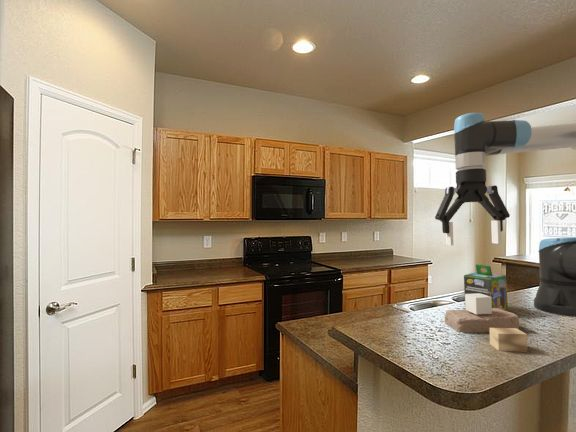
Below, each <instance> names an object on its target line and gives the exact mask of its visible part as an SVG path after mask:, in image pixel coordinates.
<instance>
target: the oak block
mask: <svg viewBox="0 0 576 432" xmlns="http://www.w3.org/2000/svg"><path fill="white" fill-rule="evenodd" d="M489 345H490V346H492V347H493V348H495V349H496V350H497V351H500V352H526V353H527V352H528V334H527V333H525V332H523V331H522V330H520V329H517V328H490V332H489Z"/></svg>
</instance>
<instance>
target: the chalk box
mask: <svg viewBox="0 0 576 432" xmlns="http://www.w3.org/2000/svg"><path fill="white" fill-rule="evenodd" d="M475 269H476V270H475V271H476V272H470V273H467V274H464V275H463V289H464V295H465V294H475V293H480V294H484V295H487V296H490V297H491V298H492V308H499V309H501V310H504V311H509V304H508V303H509V302H508V287H507V286H508V285H507V275H506V274H500V273H493V272H492V268H491V266H490V265H487V264H479V263H478V264H475ZM482 269H485V270H486V271H482Z"/></svg>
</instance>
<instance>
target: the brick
mask: <svg viewBox="0 0 576 432" xmlns="http://www.w3.org/2000/svg"><path fill="white" fill-rule="evenodd" d="M444 323H445V325H447V326H448V327H449V328H451V329H452V330H454V331H455V332H456V333H460V332H465V333H464V334H466V333H467V332H471V333H490V328H517V329H518V330H520V329H519V328H520V319H519V316H518V314H515V313H514V312H510V311H509V310H507V311H504V310H501V309H499V308H492V314H474V313H472V312H469V311H467V310H465V309H450V310H449V309H448V310H445V314H444Z"/></svg>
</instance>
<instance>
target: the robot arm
mask: <svg viewBox="0 0 576 432" xmlns="http://www.w3.org/2000/svg"><path fill="white" fill-rule="evenodd" d="M484 115H485V114H483V113H481V112H468V113H465V114H462V115H460V116H457V117H456V118H455V120H454V125H453V126H454V127H453V140H454V158H455V161H454V162H455V163H454V164H455V170H456V172H455V183H456V187H454V186H448V187H445V191H444V196H443V198H442V200H441V203H440V205H439V208H438V210H437V212H436V214H435V216H434V219H435V220H437V221H440V222H441V225H442V228H441V229H442V233H443V234H445V246H454V225H453V223H454V222H453V221H451V220H452V218H453V217H454V216H455V215H456V213H457V212H458V210H459V209H460V208H461V207H462V205H463V204H465V203H478V204H480V205H481V206H482V207H483V209H485V211H486V212H487V213H488V214H489V216H491V218H492V219H493V220H490V223H491V225H490V227H491V228H490V229H491V244H496V245H497V244H498V245H500V244H501V243H502V234H501V232H503V231H504V230H503V229H504V223H503V221H505V220H506V219H509V218H510V216H511V215H510V213H509V210H508V208H507V207H506V205H505V204H504V201H503V199H502V198H501V196H500V194H499V189H498V186H497V185H495V184H494V185H489V186H487V185H486V182H487V170H486V169H485V168H486V166H487V162H486V161H487V159H486V157H487V156H496V155H504V154H516V153H526V152H536V151H546V150H559V149H568V148H570V149H572V150H576V120H573V122H571V123H564V124H563V123H562V124H554V125H552V124H551V125H544V126H542V125H541V126H533V127H532V126H531V124H530V123H529V122H528V121H527V120H522V119H521V120H519V119H512V120H511V119H510V120H494V121H493V120H492V121H491V120H486V118H485V116H484ZM455 194H456V195H457V197H456V198H455V199H454V202H453V203H452V204H451V202H452V200H453V197H454V195H455ZM486 194H487V195H488V196H487V195H486ZM488 197H489V198H488ZM450 204H451V206H450ZM538 260H539V286H538V288H537V292H536V293H535V297H534V299H533V307H534V308H535V309H537V310H540V311H543V312H547V313H551V314H557V315H562V316H569V317H576V237H560V238H559V237H556V238H555V237H554V238H544V239H541V240H540V242H539V245H538Z"/></svg>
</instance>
